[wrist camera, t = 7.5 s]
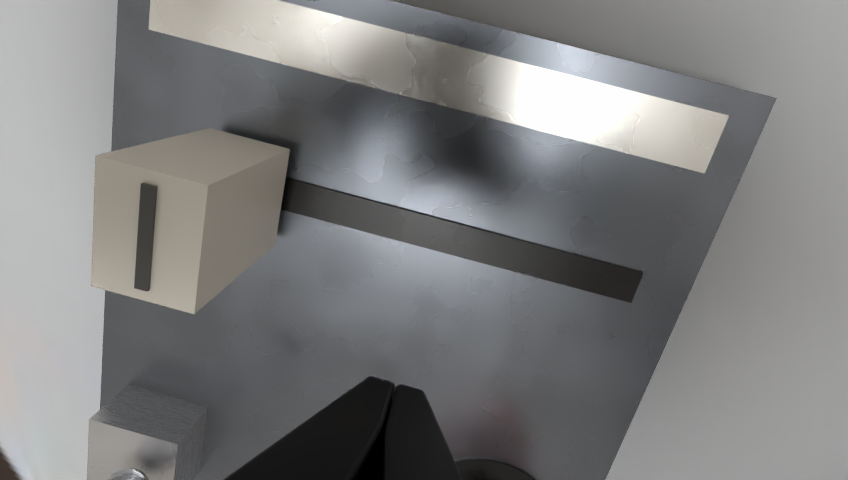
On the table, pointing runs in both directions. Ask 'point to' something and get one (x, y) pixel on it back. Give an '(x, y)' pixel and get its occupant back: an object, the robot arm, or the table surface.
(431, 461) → the robot arm
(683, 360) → the table surface
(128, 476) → the toggle
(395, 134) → the panel
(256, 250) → the fader
